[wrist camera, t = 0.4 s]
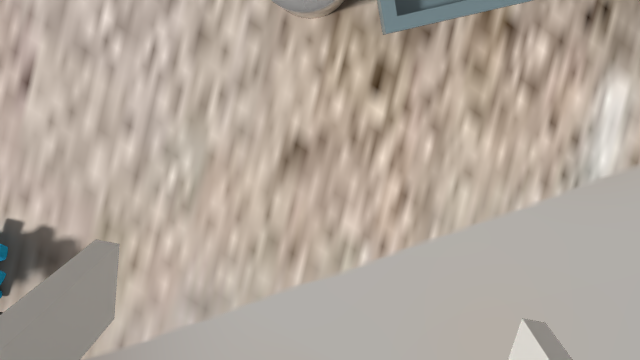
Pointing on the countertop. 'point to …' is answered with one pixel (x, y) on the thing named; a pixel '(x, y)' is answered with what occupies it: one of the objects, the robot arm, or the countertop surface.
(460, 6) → the parts tray
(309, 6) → the knob
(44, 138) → the countertop surface
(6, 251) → the gear
